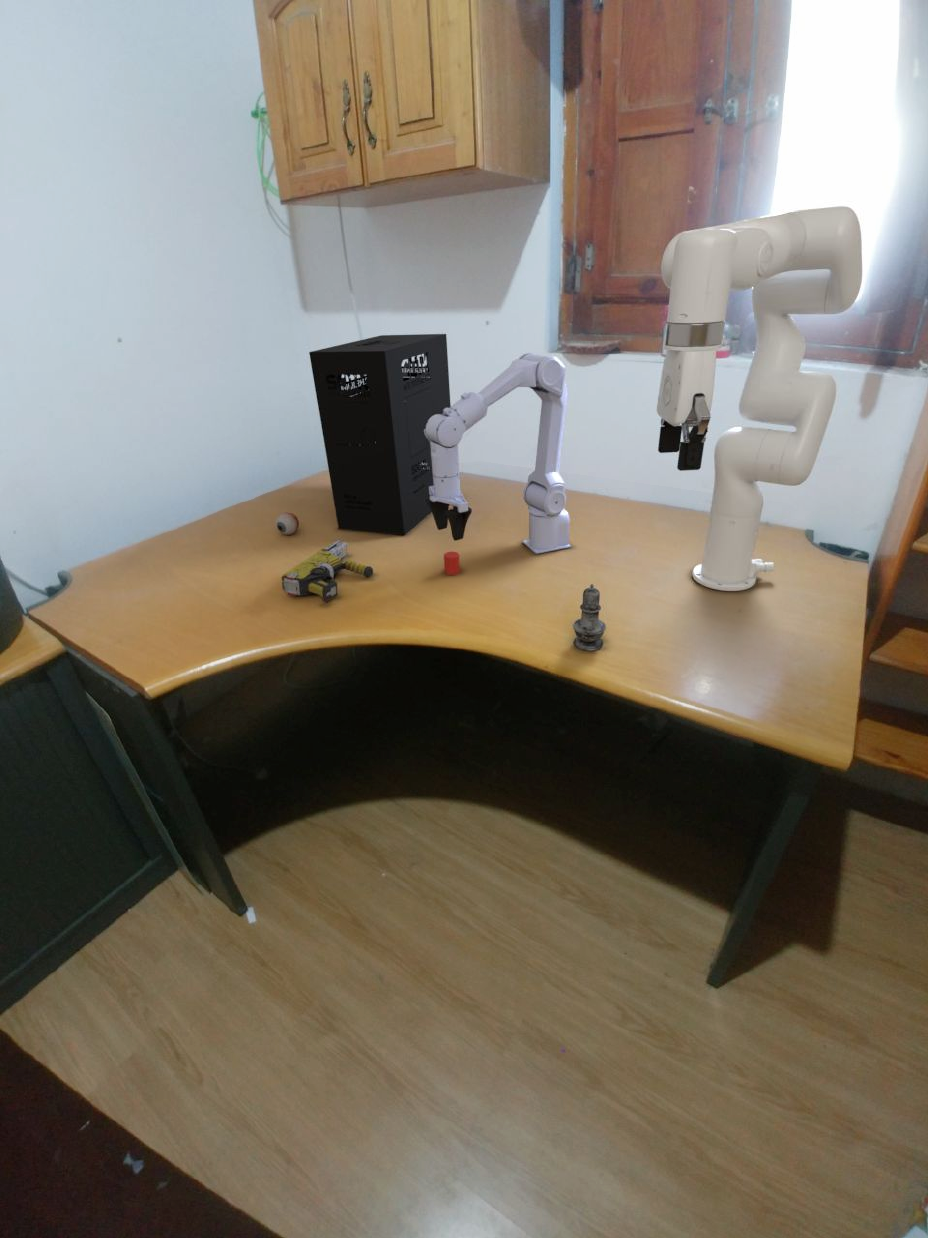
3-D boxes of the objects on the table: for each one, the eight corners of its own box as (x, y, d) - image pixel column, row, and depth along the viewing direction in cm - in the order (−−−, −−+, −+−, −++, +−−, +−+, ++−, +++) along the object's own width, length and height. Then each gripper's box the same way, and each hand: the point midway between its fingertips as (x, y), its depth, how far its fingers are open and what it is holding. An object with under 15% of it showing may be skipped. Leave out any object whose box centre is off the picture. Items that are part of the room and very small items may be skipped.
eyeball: (273, 537, 164) (268, 516, 161) (287, 528, 169) (282, 508, 166) (291, 539, 161) (286, 518, 158) (305, 530, 166) (301, 510, 163)
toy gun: (389, 548, 145) (334, 537, 149) (339, 588, 125) (277, 575, 129) (389, 566, 147) (335, 555, 151) (340, 608, 127) (279, 595, 131)
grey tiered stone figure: (604, 652, 107) (609, 592, 101) (571, 650, 108) (573, 591, 102) (604, 635, 112) (609, 577, 106) (572, 633, 113) (575, 575, 107)
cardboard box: (397, 486, 197) (381, 335, 174) (455, 490, 190) (446, 333, 168) (338, 528, 167) (309, 351, 144) (404, 535, 160) (384, 350, 137)
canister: (446, 568, 141) (445, 551, 139) (461, 568, 141) (460, 551, 138) (443, 575, 138) (442, 557, 136) (458, 575, 138) (457, 557, 135)
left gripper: (414, 469, 132) (420, 528, 139) (445, 486, 121) (449, 548, 127) (443, 463, 135) (447, 521, 141) (475, 479, 124) (478, 540, 130)
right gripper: (649, 332, 90) (638, 447, 99) (686, 344, 75) (670, 478, 84) (699, 329, 90) (684, 444, 99) (747, 341, 75) (724, 476, 84)
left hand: (450, 533), depth 135 cm, fingers open, 7 cm apart
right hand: (678, 460), depth 91 cm, fingers open, 9 cm apart
